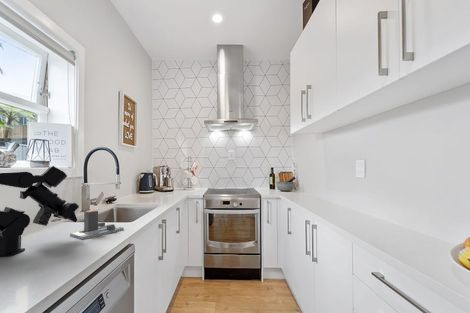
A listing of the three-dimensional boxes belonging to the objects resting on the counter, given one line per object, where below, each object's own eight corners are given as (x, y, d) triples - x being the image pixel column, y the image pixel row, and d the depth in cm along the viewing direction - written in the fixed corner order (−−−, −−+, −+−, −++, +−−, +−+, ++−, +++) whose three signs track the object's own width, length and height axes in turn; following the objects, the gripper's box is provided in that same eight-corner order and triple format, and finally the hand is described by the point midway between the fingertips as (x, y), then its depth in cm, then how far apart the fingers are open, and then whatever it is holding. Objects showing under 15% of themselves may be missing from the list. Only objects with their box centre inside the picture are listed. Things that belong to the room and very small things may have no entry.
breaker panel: (81, 239, 99) (81, 231, 99) (70, 235, 105) (70, 228, 105) (123, 229, 114) (123, 222, 114) (111, 226, 120) (111, 220, 120)
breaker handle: (88, 233, 105) (88, 211, 105) (84, 231, 106) (84, 211, 107) (97, 231, 108) (98, 210, 108) (93, 229, 110) (93, 209, 110)
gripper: (16, 212, 94) (49, 235, 103) (35, 217, 84) (71, 242, 92) (41, 189, 101) (71, 212, 109) (62, 192, 90) (93, 217, 99)
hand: (76, 221), depth 102 cm, fingers closed
